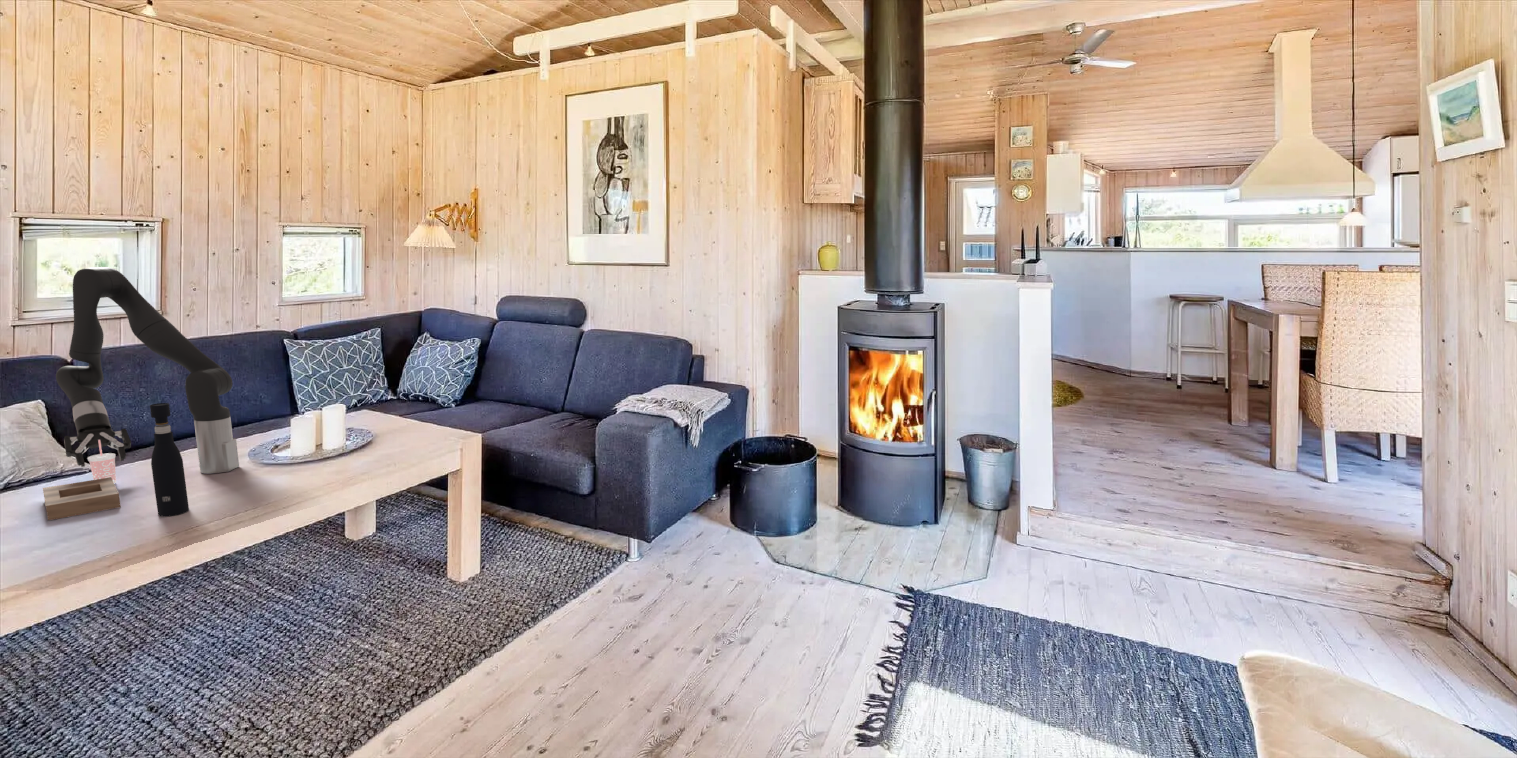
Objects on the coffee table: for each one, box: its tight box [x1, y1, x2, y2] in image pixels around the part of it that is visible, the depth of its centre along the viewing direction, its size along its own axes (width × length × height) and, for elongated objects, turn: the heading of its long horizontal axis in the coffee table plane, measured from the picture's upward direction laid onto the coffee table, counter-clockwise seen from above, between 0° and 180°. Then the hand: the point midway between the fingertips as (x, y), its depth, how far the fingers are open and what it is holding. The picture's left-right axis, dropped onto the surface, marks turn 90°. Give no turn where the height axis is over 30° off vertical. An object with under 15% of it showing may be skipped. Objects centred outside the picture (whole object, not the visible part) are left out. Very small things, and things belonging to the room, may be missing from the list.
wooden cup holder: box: [42, 477, 122, 521], centre depth 189 cm, size 20×14×4 cm
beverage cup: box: [86, 440, 117, 484], centre depth 205 cm, size 6×6×14 cm
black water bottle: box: [149, 402, 190, 518], centre depth 183 cm, size 6×6×30 cm
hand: (103, 462), depth 204 cm, fingers open, 8 cm apart
